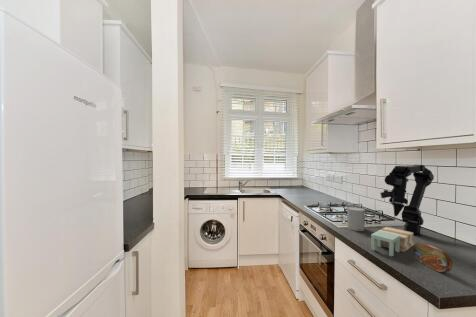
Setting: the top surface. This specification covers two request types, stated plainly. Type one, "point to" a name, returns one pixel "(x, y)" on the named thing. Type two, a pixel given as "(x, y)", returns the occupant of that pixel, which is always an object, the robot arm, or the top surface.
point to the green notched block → (388, 238)
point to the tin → (432, 257)
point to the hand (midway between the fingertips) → (395, 216)
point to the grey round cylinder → (356, 218)
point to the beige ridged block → (405, 238)
